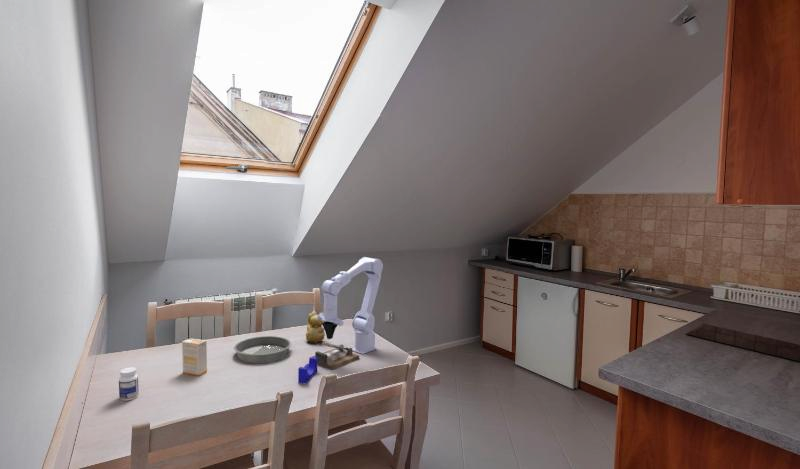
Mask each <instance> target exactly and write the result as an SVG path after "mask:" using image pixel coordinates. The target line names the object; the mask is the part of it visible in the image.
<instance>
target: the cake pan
mask: <svg viewBox="0 0 800 469" xmlns="http://www.w3.org/2000/svg"><path fill="white" fill-rule="evenodd" d="M268 345H270V346H269V347H271V348H270V349H269V348H267V347H266V346H268ZM291 345H292V342H291V340H289V339H287V338H286V337H282V336H275V335H263V336H256V337H255V336H254V337H250V338H245V339H243V340H240V341H239V342H237V343H236V344H234V346H233V349H234V351H235V352H236V355H237V358H239V360H240V361H242V362H245V363H246V362H247V363H254V364H258V363H260V364H261V363H268V362H269V363H270V362H274V361H279V360H280V359H282V358H284V357H285V356H286V355H287V354H288V351H289V348H290V347H291ZM264 346H265V347H264ZM276 346H277V347H276ZM256 347H260V348H259V349H258V350H256V351H254V352H253V353H246V352H244V351H245V350H248V349H251V348H256ZM273 347H274V348H273ZM279 349H280V350H279Z"/></svg>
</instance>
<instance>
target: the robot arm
mask: <svg viewBox="0 0 800 469" xmlns="http://www.w3.org/2000/svg"><path fill="white" fill-rule="evenodd" d="M383 269H384V264H383V262H382V260H381V258H380V259H379V258H374V257H373V258H372V257H367V256H363V257H362V258H360V259H359V260H358V262H357V263H356V264H354V265H353V266H352V267H350V269H348V270H347V271H342V270H341V271H339V273H338V274H337V275H335V276H333V277H331V279H327V280H324V281H323V283H322V285H321V287H320V289H321V292H322V293H323V294H322V295H323V314H324V315H322V314H320V313H319V314H320V315H319V314H317V315H318V317H317V319H319V320H320V319H321V320H322V321H324V322H323V323H322V328H324V333H325V336H326V339H327V340H331V339H333V337H334V335H335V331H336V329H337V327H338V326H339V327H342V326H344V320H342V319H341V318H339V317H338V294H339V293H340V292H341V289H343V287H345V286H346V285H348V284H349V283H350V282H351V280H352V279H353V277H355V276H357V275H358V274H360V273H362V272H364V274H366V275H367V278H368V281H367V285H366V288H365V293H364V296H363V300H362V303H361V308H360V310H359V311H357V312H355V315H354V318H353V319H352V322H351V326H352V328H353V329H354V330H353V331H354V334H355V337H354V347H353V348H352V347H351V348H352V352H355V353H359V354H361V355H365V354H367V353H370V352H372V351H375V350H376V349H377V347H376V334H375V331H374V328H375V319H376V318H375V316H374V314H373V309H374V306H375V301H376V297H377V295H378V292H379V291H378V290H379V286H380V283H381V278H382V272H383Z"/></svg>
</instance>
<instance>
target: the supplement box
mask: <svg viewBox="0 0 800 469" xmlns="http://www.w3.org/2000/svg"><path fill="white" fill-rule="evenodd" d="M181 343H182V344H181V346H182V347H181V348H182V349H181V350H182V374H187V375H192V376H197V377H199V376H202V375H204V374H205V373H207V371H208V364H207V363H208V360H207V359H208V358H207V355H208V354H207V352H208V351H207V350H208V349H207V348H208V347H207V340H204V339H198V338H192V337H191V338H188V339H185V340H182V342H181Z"/></svg>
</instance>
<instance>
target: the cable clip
mask: <svg viewBox="0 0 800 469" xmlns="http://www.w3.org/2000/svg"><path fill="white" fill-rule="evenodd" d="M317 373H318V358H315V357H313V356H310V357H309V358H308V363H306V364H305V365H304V366H300V367H298V373H297V374H298V375H297V379H298V380H297V381H298V382H297V383H298V384H304V383H305V384H307V383H308V382H309V381H310V380H311V379H312V378H313V377H314V375H316V374H317Z"/></svg>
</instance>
